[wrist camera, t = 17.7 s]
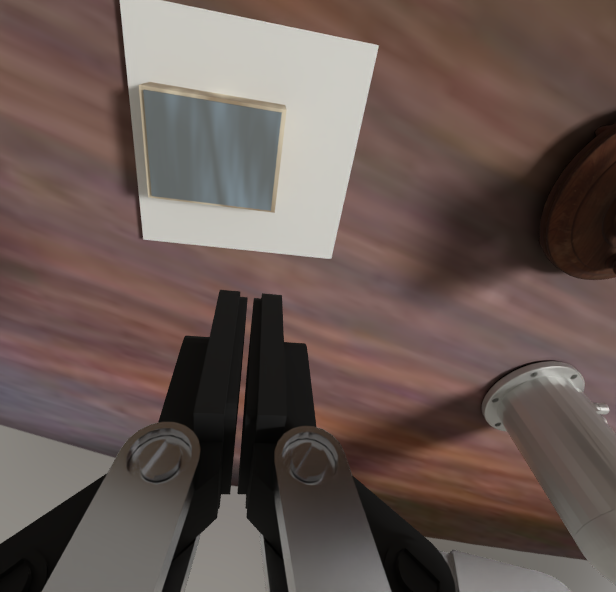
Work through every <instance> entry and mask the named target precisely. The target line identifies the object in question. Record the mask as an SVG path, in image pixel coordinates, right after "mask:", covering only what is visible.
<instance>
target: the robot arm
mask: <svg viewBox="0 0 616 592" xmlns="http://www.w3.org/2000/svg"><path fill="white" fill-rule="evenodd" d="M247 299H248V298H247V297H240V292H239V291H227V290H220V292H219V296H218V301H217V305H216V310H215V315H214V319H213V324H212V329H211V333H210V337H198V336H185V337H184V340H183V343H182V346H181V349H180V353H179V356H178V359H177V363H176V366H175V369H174V372H173V376H172V379H171V382H170V386H169V389H168V392H167V396H166V399H165V402H164V405H163V409H162V412H161V415H160V419H159V422H158V423H155V424H151V425H149V426H147V427H144V428H142V429H140V430H138V431H137V432H136V433H135V434H134V435H132V436H131V437H130V438H129V439H128V440H127V441H126V443H125V444H124V445H123V447H122V448H121V450H120V451H119V453H118V455H117V457H116V459H115V460H114V462H113V464H112V466H111V468H110V470H109V471H108V473H107V474H105V475H104V476H102V477H101V478H99V479H98V480H96V481H95V482H93V483H92V484H90V485H89V486H87V487H86V488H84V489H83V490H81V491H80V492H78V493H77V494H75V495H74V496H72V497H71V498H69V499H68V500H66V501H64V502H63V503H61V504H60V505H58V506H57V507H55V508H54V509H52V510H51V511H49V512H48V513H46V514H45V515H43V516H42V517H40V518H39V519H37V520H36V521H34V522H33V523H31V524H30V525H28V526H27V527H25V528H24V529H22V530H21V531H19V532H18V533H16V534H15V535H13V536H12V537H10V538H9V539H7V540H6V541H4V542H3V543H1V544H0V592H185V588H186V585H187V581H188V578H189V574H190V570H191V567H192V564H193V560H194V557H195V553H196V550H197V546H198V543H199V539H200V533H201V532H203V531H204V530H205V528H207V527H208V526H209V525H210V524H211V523H212V522H213V521H214V520H215V519H216V518H217V513H218V509H219V507H220V498H221V494H230V488H231V478H232V467H233V457H234V446H235V435H236V424H237V414H238V403H239V392H240V381H241V370H242V358H243V346H244V335H245V323H246V311H247ZM584 385H585V382H584V378H583V377H582V375H581V374H580V373H579V372H578V371H577V370H576V369H575V368H574V367H573V366H571V365H569V364H567V363H563V362H555V361H548V362H539V363H535V364H531V365H528V366H525V367H522V368H520V369H517V370H515V371H513V372H511V373H510V374H508V375H506V376H505V377H503V378H502V379H500V380H499V381H498V382H497V383H496V384H495V385H494V386H493V387H492V388H491V389H490V390H489V391H488V393H487V394H486V395H485V398H484V400H483V402H482V414H483V415H484V417H485V419H486V421H487V422H488V424H489V425H491V426H492V427H493V428H496V429H498V430H502V431H507V432H508V433H509V435H510V437H511V438H512V440H513V441H514V443H515V445H516V446H517V448H518V450H519V451H520V453H521V454H522V456H523V458H524V459H525V461H526V462H527V464H528V466H529V467H530V469H531V471H532V472H533V474H534V475H535V477H536V479H537V480H538V482H539V483H540V485H541V487H542V488H543V490H544V492H545V493H546V495H547V496H548V498H549V500H550V501H551V503H552V504H553V506H554V508H555V509H556V511H557V513H558V514H559V516H560V517H561V519H562V521H563V522H564V524H565V525H566V527H567V529H568V530H569V532H570V534H571V535H572V537H573V538H574V540H575V542H576V543H577V545H578V547H579V548H580V550H581V551H582V553H583V555H584V556H585V557H586V559H587V560H588V561H589V563H590V564H591V565H592V566H593V567H594V568H595V569H596V570H597V571H598V572H599V573H600V574H601V575H602V576H603V577H605V578H606V579H607V580H609V581H610V582H611V583H613V584H615V585H616V433H615V432H614V431H613V430H612V429H611V428H610V426H609V425H608V424H607V420H606V419H605V417H604V416H603V415H601V414H607V413H608V412H609V407H608V406H607V405H606V404H605V403H592V402H591V401H590V400H589V399H588V397H587V396H586V395H585V394H584V393H583V391H584ZM238 494H246V509H247V519H248V520H249V521H250V522H251V523H252V524H253V525H254V526H255V527H256V528H257V530H258V531H259V532H260V544H261V553H262V562H263V571H264V580H265V589H266V592H572V591H571V590H570V589H569V588H568V587H566V586H565V585H564V584H563V583H561V582H560V581H559V580H558V579H557V578H555V577H553V576H550V575H548V574H546V573H544V572H540V571H536V570H532V569H528V568H524V567H520V566H517V565H513V564H508V563H504V562H501V561H497V560H493V559H489V558H484V557H481V556H477V555H473V554H469V553H465V552H461V551H456V550H452V551H451V552H450V553H447V552H443V551H439V550H437V548H435V546H434V545H433V544H432V543H431V542H430V541H429V540H427V539H426V538H425V537H424V536H423V535H421V534H420V533H419V532H418V531H417V530H416V529H414V528H413V527H412V526H411V525H410V524H409V523H407V522H406V521H405V520H404V519H403V518H402V517H400V516H399V515H398V514H397V513H396V512H395V511H393V510H392V509H391V508H390V507H389V506H387V505H386V504H385V503H384V502H383V501H382V500H380V499H379V498H378V497H377V496H376V495H375V494H373V493H372V492H371V491H370V490H369V489H368V488H366V487H365V486H364V485H363V484H362V483H361V482H359V481H358V480H357V479H356V478H355V477H353V476H352V474H351V471H350V468H349V465H348V462H347V459H346V456H345V453H344V451H343V449H342V447H341V445H340V443H339V442H338V441H337V440H336V439H335V438H334V437H333V435H331V434H330V433H328V432H326V431H325V430H323V429H320V428H317V427H316V420H315V411H314V403H313V395H312V386H311V378H310V369H309V361H308V353H307V346H306V344H304V343H289V342H284V335H283V311H282V295H273V294H262V298H261V299H259V298H254V302H253V313H252V323H251V334H250V344H249V355H248V365H247V376H246V389H245V402H244V415H243V429H242V442H241V455H240V468H239V481H238Z"/></svg>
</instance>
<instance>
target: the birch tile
mask: <svg viewBox="0 0 616 592" xmlns="http://www.w3.org/2000/svg"><path fill="white" fill-rule="evenodd" d="M139 95H140V107H141V119H142V131H143V142H144V154H145V166H146V178H147V189H148V197H149V198H158V199H166V200H174V201H182V202H190V203H199V204H207V205H215V206H223V207H231V208H240V209H248V210H256V211H264V212H272V213H275V205H276V197H277V188H278V180H279V171H280V162H281V154H282V145H283V137H284V128H285V119H286V111H287V109H286V106H285V105H282V104H277V103H271V102H265V101H259V100H253V99H247V98H242V97H236V96H230V95H224V94H218V93H212V92H207V91H201V90H195V89H189V88H183V87H177V86H172V85H166V84H160V83H154V82H147V83H143V84H140V85H139Z"/></svg>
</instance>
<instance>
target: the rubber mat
mask: <svg viewBox="0 0 616 592" xmlns="http://www.w3.org/2000/svg"><path fill="white" fill-rule="evenodd" d="M120 9H121V19H122V29H123V39H124V49H125V59H126V69H127V79H128V89H129V100H130V110H131V120H132V130H133V140H134V150H135V160H136V170H137V180H138V190H139V200H140V211H141V221H142V231H143V239H144V240H154V241H164V242H173V243H183V244H192V245H202V246H212V247H221V248H231V249H241V250H250V251H260V252H269V253H279V254H289V255H298V256H308V257H318V258H327V259H331V257H332V253H333V248H334V244H335V239H336V235H337V230H338V226H339V221H340V217H341V212H342V208H343V203H344V199H345V195H346V190H347V186H348V181H349V177H350V172H351V168H352V163H353V159H354V154H355V150H356V145H357V141H358V136H359V132H360V127H361V123H362V118H363V114H364V109H365V105H366V100H367V96H368V91H369V87H370V83H371V78H372V74H373V69H374V65H375V60H376V56H377V51H378V47H379V45H374V44H370V43H365V42H360V41H355V40H350V39H345V38H341V37H336V36H331V35H326V34H321V33H316V32H312V31H307V30H302V29H297V28H292V27H287V26H283V25H278V24H273V23H268V22H263V21H259V20H254V19H249V18H244V17H239V16H234V15H230V14H225V13H220V12H215V11H210V10H205V9H201V8H196V7H191V6H186V5H181V4H176V3H172V2H167V1H162V0H120ZM147 82H154V83H160V84H166V85H172V86H177V87H183V88H189V89H195V90H201V91H207V92H212V93H218V94H224V95H230V96H236V97H242V98H247V99H253V100H259V101H265V102H271V103H277V104H282V105H285V106H286V109H287V111H286V119H285V128H284V137H283V145H282V154H281V162H280V171H279V180H278V188H277V197H276V205H275V213H272V212H264V211H256V210H248V209H240V208H231V207H223V206H215V205H207V204H199V203H190V202H182V201H174V200H166V199H158V198H149V197H148V189H147V178H146V166H145V154H144V142H143V131H142V119H141V107H140V95H139V85H140V84H143V83H147Z"/></svg>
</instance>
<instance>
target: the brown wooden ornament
mask: <svg viewBox="0 0 616 592" xmlns="http://www.w3.org/2000/svg"><path fill="white" fill-rule="evenodd" d="M595 134H596V136H597V137H595V138H594V139H593V140H592V141H591V142H589V143H588V144H587V145H586V146H585V147H584V148H583V149H582V150H581V151H580V152H579V153H578V154H577V155H576V156H575V157H574V158H573V160H572V161H571V162H570V163H569V164H568V166H567V167H566V168H565V170H564V171H563V172H562V174H561V175H560V177H559V178H558V180H557V181H556V183H555V184H554V186H553V188H552V190H551V192H550V194H549V196H548V198H547V201H546V203H545V206H544V209H543V213H542V217H541V222H540V239H539V243H540V245H541V247H542V248H543V251H544V253H545V255H546V256H547V258H548V259H549V260H550V261H551V262H552V263H553V264H554V265H555V266H557V267H558V268H559V269H561V270H562V271H563V272H565V273H566V274H568V275H570V276H573V277H576V278H580V279H587V280H602V279H609V278H614V277H616V123H615V124H613V125H608V126H602V127H599V128H598V129H597V130H596V132H595Z"/></svg>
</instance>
